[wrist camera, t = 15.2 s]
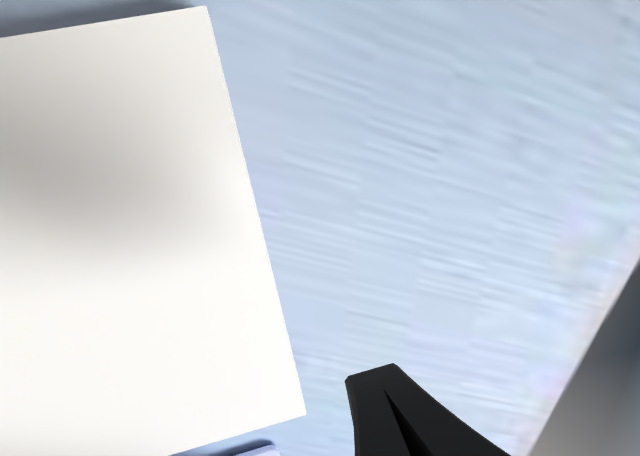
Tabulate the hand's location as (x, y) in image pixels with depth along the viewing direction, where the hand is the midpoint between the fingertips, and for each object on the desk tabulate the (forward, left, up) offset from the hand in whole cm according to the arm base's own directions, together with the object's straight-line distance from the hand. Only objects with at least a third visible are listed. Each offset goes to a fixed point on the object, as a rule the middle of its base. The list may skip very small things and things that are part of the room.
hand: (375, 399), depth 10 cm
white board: (+2, +10, -9) cm, 14 cm away
